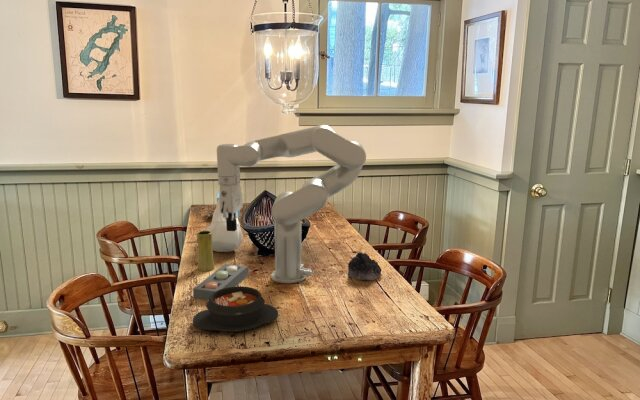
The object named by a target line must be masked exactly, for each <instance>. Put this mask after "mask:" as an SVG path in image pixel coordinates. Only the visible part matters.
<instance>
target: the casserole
mask: <svg viewBox="0 0 640 400" xmlns="http://www.w3.org/2000/svg"><path fill="white" fill-rule="evenodd" d="M205 306H206V309H205V310H201V311H198V312H197V313H196V314H195V315H193V316H194V317H193V318H192V324H193V325H194V327H196V328H197V329H199V330H202V331H203V330H205V331H221V332H226V333H227V332H234V333H235V332H241V331H242V332H243V331H248V330H251V329H254V328H257V327H259V326H261V325H265V324H270V323H271V322H274V321H276V320H277V319H278V318H279V310H278V309H277V308H275V306H273V305H271V304H268V303H266V301H265V298H264V297H263V296H262V294H261V291H259V290H258V289H256V288H253V287H250V286H243V285H242V286H239V285H237V286H236V287H227V288H223V289H220V290H218V291H216V292H214V293H213V294H212V295H211V296H210V298H209V300H208V301H206V304H205Z"/></svg>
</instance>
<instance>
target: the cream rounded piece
mask: <svg viewBox="0 0 640 400" xmlns="http://www.w3.org/2000/svg"><path fill="white" fill-rule="evenodd" d="M226 271H231V272H236V271H237V266H228V267H226Z"/></svg>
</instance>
